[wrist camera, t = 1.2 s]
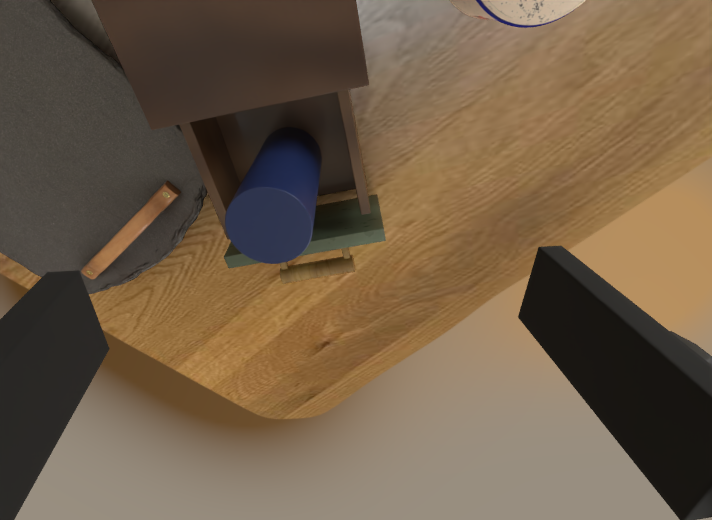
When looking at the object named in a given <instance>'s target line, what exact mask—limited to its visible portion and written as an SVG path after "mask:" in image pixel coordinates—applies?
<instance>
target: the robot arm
mask: <svg viewBox="0 0 712 520" xmlns="http://www.w3.org/2000/svg"><path fill="white" fill-rule="evenodd" d="M518 317H519V319H520V320H521V321H522V323H523V324H524V325H525V326H526V328H527V329H528V330H529V331H530V333H531V334H532V335H533V336H534V338H535V339H536V340H537V341H538V342H539V344H540V345H541V346H542V348H543V349H544V350H545V351H546V353H547V354H548V355H549V356H550V358H551V359H552V360H553V361H554V362H555V364H556V365H557V366H558V368H559V369H560V370H561V371H562V373H563V374H564V375H565V376H566V378H567V379H568V380H569V381H570V383H571V384H572V385H573V386H574V388H575V389H576V390H577V391H578V393H579V394H580V395H581V396H582V398H583V399H584V400H585V401H586V403H587V404H588V405H589V406H590V408H591V409H592V410H593V411H594V413H595V414H596V415H597V417H598V418H599V419H600V420H601V422H602V423H603V424H604V425H605V426H606V428H607V429H608V430H609V432H610V433H611V434H612V435H613V436H614V438H615V439H616V440H617V441H618V443H619V444H620V445H621V446H622V448H623V449H624V450H625V452H626V453H627V454H628V455H629V457H630V458H631V459H632V460H633V461H634V463H635V464H636V465H637V467H638V468H639V469H640V470H641V472H642V473H643V474H644V475H645V477H646V478H647V479H648V480H649V482H650V483H651V484H652V485H653V487H654V488H655V489H656V490H657V492H658V493H659V494H660V495H661V497H662V498H663V499H664V500H665V501H666V503H667V504H668V505H669V506H670V508H671V509H672V510H673V512H675V514H676V515H677V517H678V518H679V519H680V520H697V519H703V518H709V517H712V356H710V355H709V354H708V353H706V352H705V351H704V350H703V349H701V348H700V347H699V346H698V345H696V344H694V343H692V342H691V341H689V340H687V339H685V338H683V337H681V336H679V335H677V334H676V333H674V332H672V331H668V330H667V329H666V328H664V327H663V326H662V325H661V324H659V323H658V322H657V321H656V320H654V319H653V318H652V317H651V316H649V315H648V314H647V313H646V312H644V311H643V310H641V309H640V308H639V307H638V306H637V305H635V304H634V303H633V302H632V301H630V300H629V299H628V298H626V297H625V296H624V295H623V294H622V293H620V292H619V291H618V290H616V289H615V288H614V287H613V286H611V285H610V284H609V283H608V282H606V281H605V280H604V279H603V278H601V277H600V276H599V275H598V274H596V273H595V272H594V271H593V270H591V269H590V268H589V267H587V266H586V265H585V264H584V263H582V262H581V261H580V260H579V259H577V258H576V257H575V256H574V255H572V254H571V253H570V252H569V251H567V250H566V249H565V248H563V247H562V246H547V247H539V248H538V251H537V255H536V258H535V261H534V265H533V268H532V272H531V275H530V278H529V282H528V285H527V289H526V292H525V295H524V299H523V302H522V306H521V309H520V312H519V316H518ZM108 350H109V347H108V344H107V341H106V339H105V336H104V334H103V331H102V328H101V326H100V323H99V320H98V318H97V315H96V313H95V310H94V307H93V305H92V302H91V300H90V297H89V294H88V292H87V289H86V287H85V284H84V281H83V279H82V276H81V273H80V271H79V270H77V271H57V272H47V273H46V274H45V275H44V276H43V277H42V278H41V279H40V280H39V281H38V282H37V283H36V284H35V285H34V286H33V287H32V288H31V289H30V290H29V291H28V292H27V293H26V294H25V295H24V296H23V297H22V298H21V299H20V300H19V301H18V302H17V303H16V304H15V305H14V306H13V307H12V308H11V309H10V310H9V311H8V312H7V313H6V315H4V316H3V318H1V319H0V520H14V519H15V517H16V515H17V514H18V512H19V510H20V508H21V507H22V505H23V503H24V501H25V499H26V498H27V496H28V494H29V492H30V490H31V489H32V487H33V485H34V483H35V481H36V480H37V477H38V476H39V474H40V472H41V471H42V469H43V467H44V465H45V463H46V462H47V460H48V458H49V456H50V455H51V453H52V451H53V449H54V447H55V445H56V444H57V442H58V440H59V438H60V436H61V435H62V433H63V431H64V429H65V428H66V426H67V424H68V422H69V420H70V419H71V417H72V415H73V413H74V411H75V410H76V408H77V406H78V404H79V403H80V400H81V399H82V397H83V395H84V394H85V392H86V390H87V388H88V386H89V385H90V383H91V381H92V379H93V377H94V376H95V374H96V372H97V370H98V368H99V367H100V365H101V363H102V361H103V359H104V358H105V356H106V354H107V352H108Z"/></svg>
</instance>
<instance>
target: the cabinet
mask: <svg viewBox="0 0 712 520" xmlns="http://www.w3.org/2000/svg"><path fill="white" fill-rule="evenodd" d="M92 3H93V5H94V7H95V9H96V11H97V13H98V15H99V18H100V20H101V22H102V24H103V26H104V28H105V31H106V33H107V35H108V37H109V39H110V41H111V44H112V46H113V48H114V50H115V52H116V54H117V56H118V59H119V61H120V63H121V65H122V67H123V69H124V72H125V74H126V76H127V78H128V80H129V82H130V85H131V87H132V89H133V91H134V93H135V95H136V97H137V100H138V102H139V104H140V106H141V108H142V110H143V113H144V115H145V117H146V119H147V121H148V123H149V126H150V128H151V130H155V129H160V128H165V127H169V126H174V125H179V124H184V123H189V122H194V121H198V120H203V119H208V118H213V117H218V116H223V115H227V114H232V113H237V112H242V111H247V110H251V109H256V108H261V107H266V106H271V105H276V104H280V103H285V102H290V101H295V100H300V99H305V98H309V97H314V96H319V95H324V94H329V93H334V92H338V91H343V90H348V89H353V88H358V87H363V86H367V85H369V81H368V74H367V68H366V61H365V55H364V49H363V42H362V36H361V29H360V23H359V16H358V10H357V4H356V0H92Z"/></svg>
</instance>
